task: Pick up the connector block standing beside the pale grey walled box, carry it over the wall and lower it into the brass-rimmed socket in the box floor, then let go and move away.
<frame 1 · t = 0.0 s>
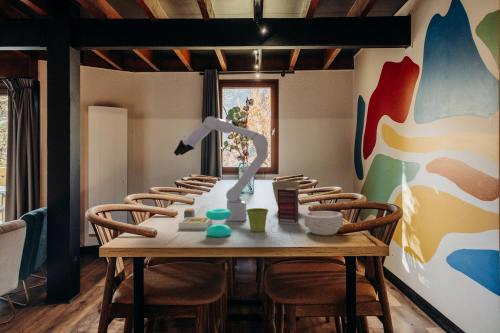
hand: (177, 154, 172), 32 cm above the table, tool tilted 50°, fingers open, 7 cm apart
plant pot 2: (257, 230, 147), on the table
supplement box: (288, 223, 161), on the table
connector: (189, 221, 168), on the table
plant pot: (285, 211, 192), on the table
walled box: (196, 226, 156), on the table
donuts: (218, 235, 141), on the table
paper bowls: (323, 233, 142), on the table
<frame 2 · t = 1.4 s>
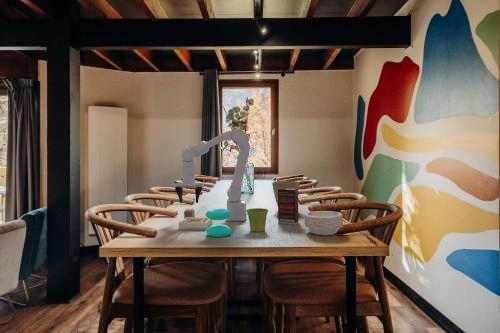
hand: (189, 202, 167), 9 cm above the table, tool pointing down, fingers open, 7 cm apart
nothing on the table moved.
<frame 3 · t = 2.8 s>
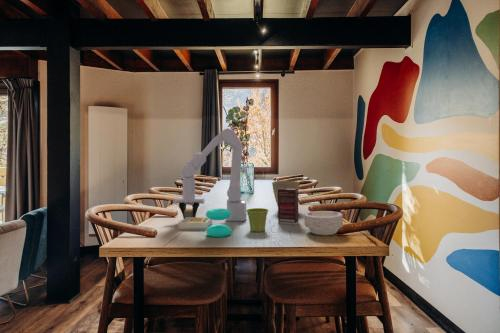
hand: (189, 218, 168), 1 cm above the table, tool pointing down, fingers closed on connector, 4 cm apart
connector: (189, 221, 168), on the table, touching gripper
everything else where it was.
when the fingers open (4 cm above the table, at t = 6.0 s): connector stays where it is, resting on walled box.
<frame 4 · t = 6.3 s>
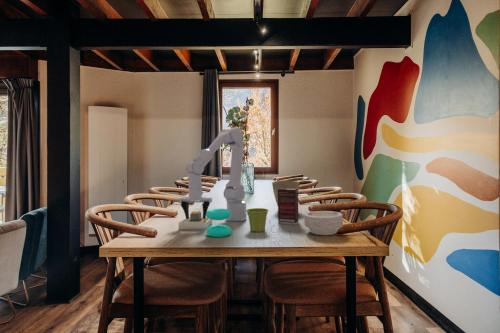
hand: (195, 218, 156), 4 cm above the table, tool pointing down, fingers open, 7 cm apart
connector: (196, 224, 156), point 1 cm above the table, touching walled box
everything else where it was.
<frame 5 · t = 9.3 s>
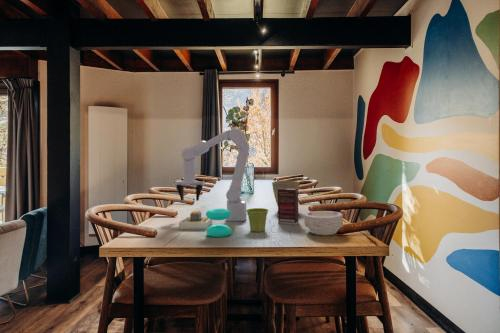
hand: (189, 200, 172), 9 cm above the table, tool pointing down, fingers open, 7 cm apart
nothing on the table moved.
at the end: connector 0.2 cm off-centre on the walled box, point 0.8 cm above the walled box's base; connector tilted 0°; the gripper is holding nothing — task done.
